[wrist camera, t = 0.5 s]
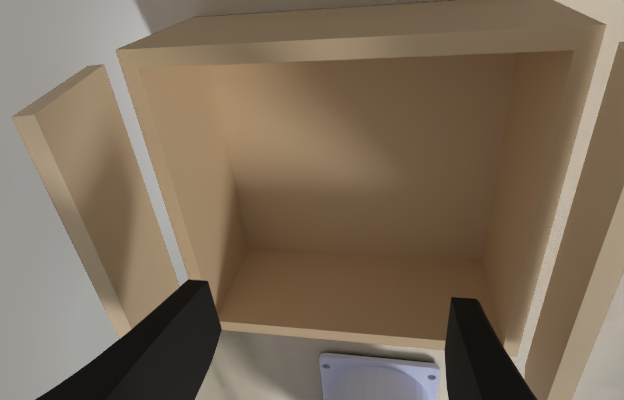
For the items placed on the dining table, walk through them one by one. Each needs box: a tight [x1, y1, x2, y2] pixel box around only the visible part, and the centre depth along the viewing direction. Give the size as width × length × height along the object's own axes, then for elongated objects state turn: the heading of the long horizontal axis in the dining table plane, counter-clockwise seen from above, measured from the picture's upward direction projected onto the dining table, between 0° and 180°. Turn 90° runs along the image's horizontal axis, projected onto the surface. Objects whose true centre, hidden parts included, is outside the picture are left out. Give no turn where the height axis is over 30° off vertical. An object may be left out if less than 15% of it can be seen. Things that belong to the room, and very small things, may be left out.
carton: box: [116, 0, 606, 357], centre depth 18 cm, size 13×14×6 cm
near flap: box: [525, 42, 624, 400], centre depth 12 cm, size 12×4×1 cm
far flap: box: [12, 65, 179, 339], centre depth 14 cm, size 12×4×1 cm
